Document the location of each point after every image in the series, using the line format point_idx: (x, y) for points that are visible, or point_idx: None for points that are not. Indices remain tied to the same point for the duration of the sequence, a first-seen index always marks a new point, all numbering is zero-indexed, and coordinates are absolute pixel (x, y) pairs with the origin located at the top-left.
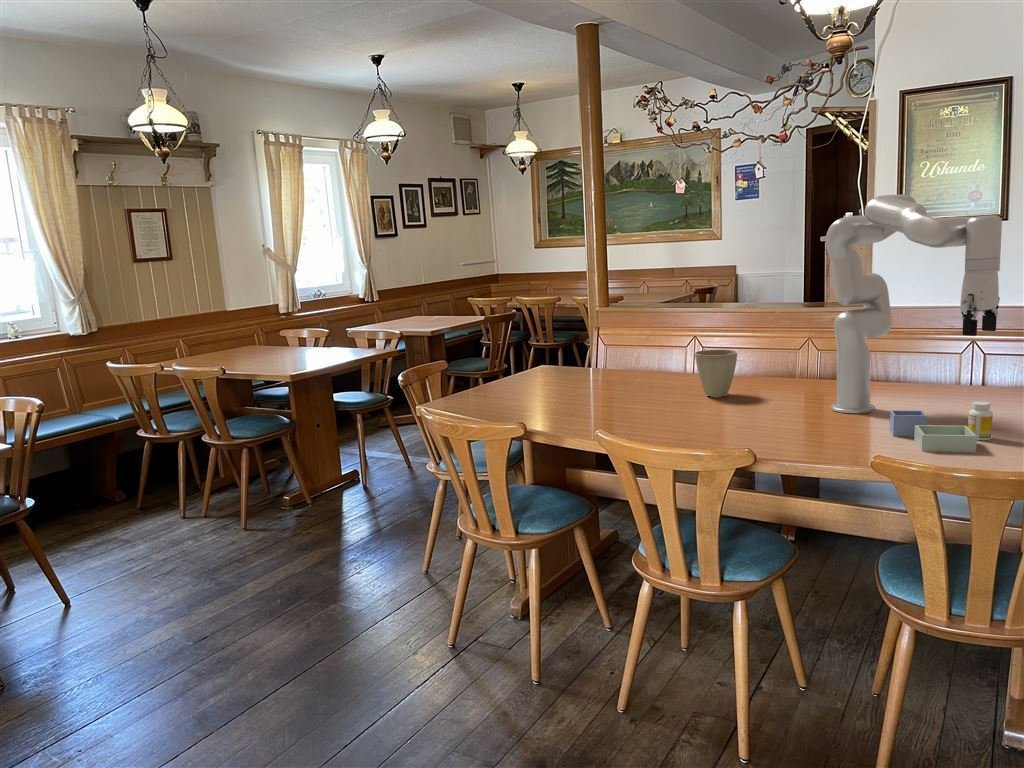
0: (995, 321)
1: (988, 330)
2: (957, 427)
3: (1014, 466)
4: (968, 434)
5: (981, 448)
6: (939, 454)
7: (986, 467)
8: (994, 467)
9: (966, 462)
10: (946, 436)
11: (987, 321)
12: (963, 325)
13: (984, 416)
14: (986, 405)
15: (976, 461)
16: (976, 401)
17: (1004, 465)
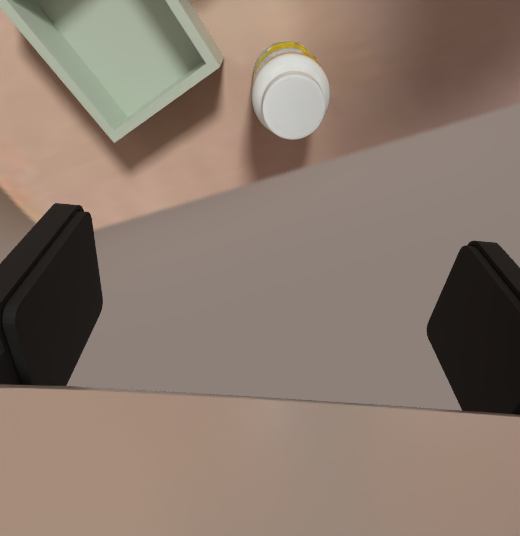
0: (463, 406)
1: (443, 293)
2: (193, 43)
3: None
4: (156, 98)
5: (176, 124)
6: (28, 53)
7: (23, 192)
8: (38, 205)
9: (21, 143)
10: (49, 65)
11: (484, 349)
12: (7, 264)
13: (260, 121)
14: (274, 133)
15: (49, 158)
16: (313, 82)
17: None
